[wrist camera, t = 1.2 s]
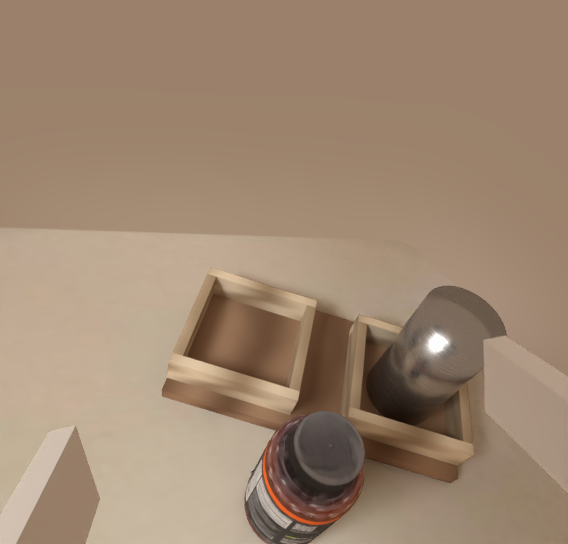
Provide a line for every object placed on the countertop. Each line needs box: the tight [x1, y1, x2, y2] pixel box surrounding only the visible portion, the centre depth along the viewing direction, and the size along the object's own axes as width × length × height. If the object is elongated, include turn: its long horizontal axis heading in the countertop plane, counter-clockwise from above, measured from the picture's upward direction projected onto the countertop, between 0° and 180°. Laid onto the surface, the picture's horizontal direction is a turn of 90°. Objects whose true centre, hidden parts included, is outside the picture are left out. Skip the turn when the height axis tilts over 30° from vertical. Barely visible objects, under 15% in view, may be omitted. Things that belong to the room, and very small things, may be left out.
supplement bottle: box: [245, 411, 365, 544], centre depth 28 cm, size 6×6×11 cm
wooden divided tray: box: [162, 268, 474, 483], centre depth 38 cm, size 24×12×4 cm, turn 79°
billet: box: [366, 286, 506, 426], centre depth 35 cm, size 6×6×11 cm
